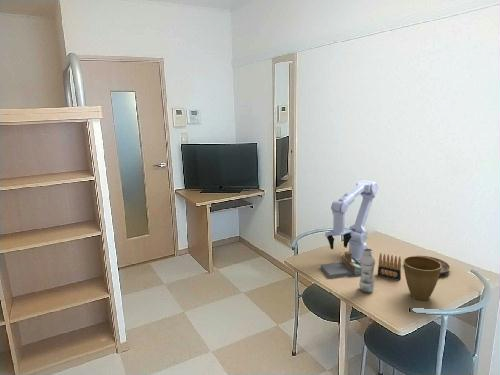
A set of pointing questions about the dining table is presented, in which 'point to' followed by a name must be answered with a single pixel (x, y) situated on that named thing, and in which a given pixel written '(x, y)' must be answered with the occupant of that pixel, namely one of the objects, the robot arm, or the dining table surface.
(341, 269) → the charcoal board
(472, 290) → the dining table surface
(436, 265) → the plant pot
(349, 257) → the walnut mallet
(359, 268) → the pale mint cube
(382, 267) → the ammunition clip
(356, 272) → the tray
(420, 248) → the dining table surface
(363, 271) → the plastic bottle
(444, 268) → the plant saucer
